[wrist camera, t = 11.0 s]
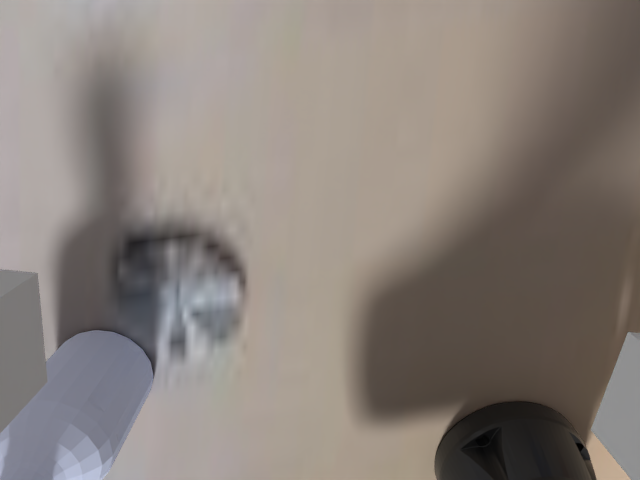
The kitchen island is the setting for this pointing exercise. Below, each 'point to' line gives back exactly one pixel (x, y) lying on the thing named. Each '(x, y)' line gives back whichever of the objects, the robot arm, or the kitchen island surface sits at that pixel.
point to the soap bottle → (78, 411)
